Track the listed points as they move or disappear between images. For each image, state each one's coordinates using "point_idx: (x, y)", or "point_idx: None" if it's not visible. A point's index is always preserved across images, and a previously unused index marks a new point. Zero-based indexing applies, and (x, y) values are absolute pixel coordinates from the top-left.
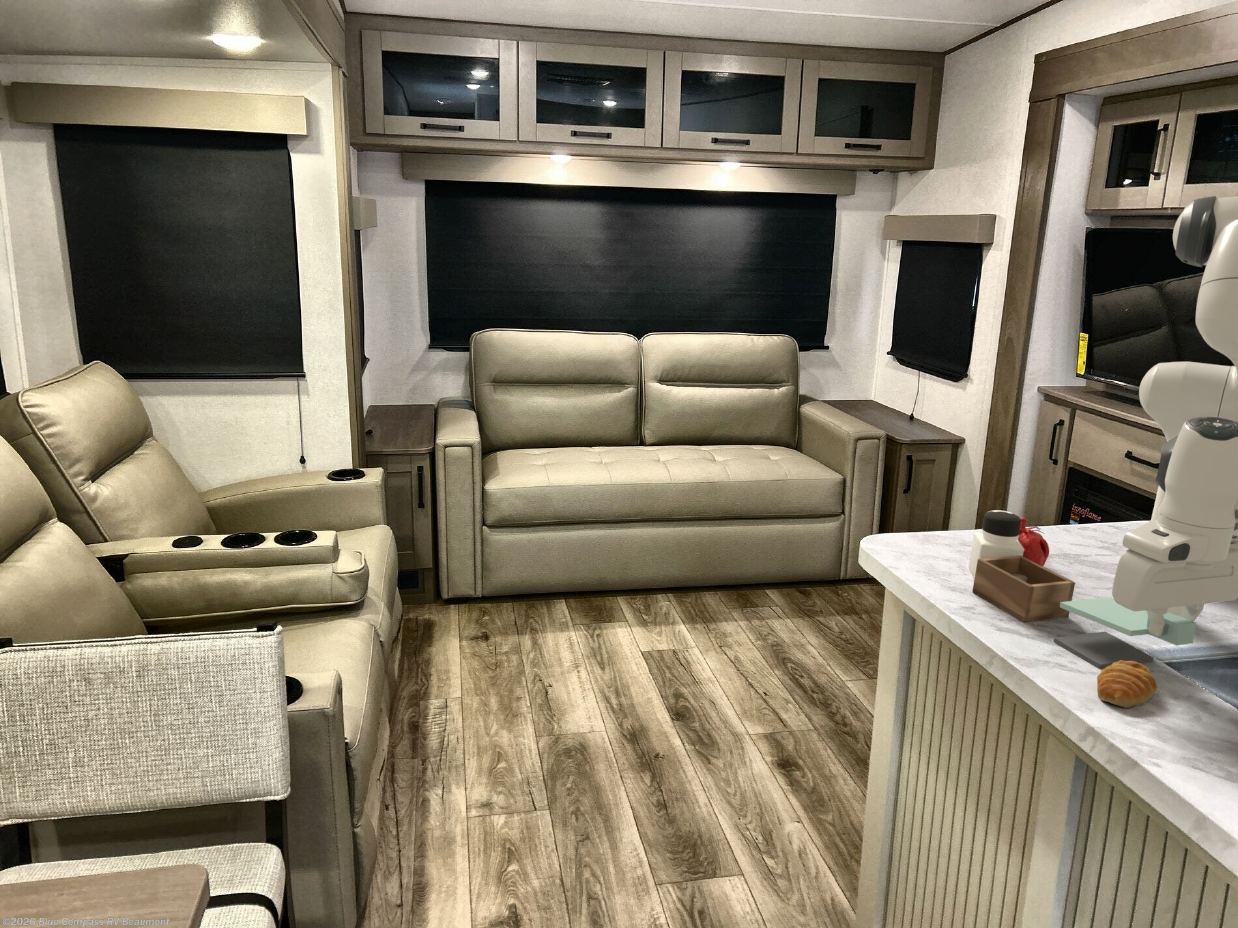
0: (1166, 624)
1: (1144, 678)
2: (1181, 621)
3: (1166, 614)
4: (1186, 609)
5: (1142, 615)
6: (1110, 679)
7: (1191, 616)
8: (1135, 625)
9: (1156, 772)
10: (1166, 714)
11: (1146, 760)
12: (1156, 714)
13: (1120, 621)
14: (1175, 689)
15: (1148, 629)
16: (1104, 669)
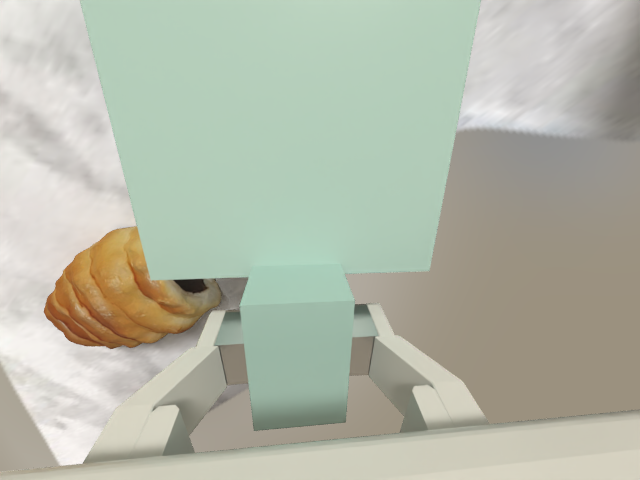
0: (237, 383)
1: (141, 341)
2: (294, 410)
3: (313, 338)
4: (409, 378)
5: (381, 133)
6: (62, 311)
7: (387, 388)
8: (224, 235)
9: (49, 435)
10: (182, 345)
11: (50, 419)
12: (162, 343)
13: (190, 175)
14: None
15: (211, 312)
16: (94, 254)
